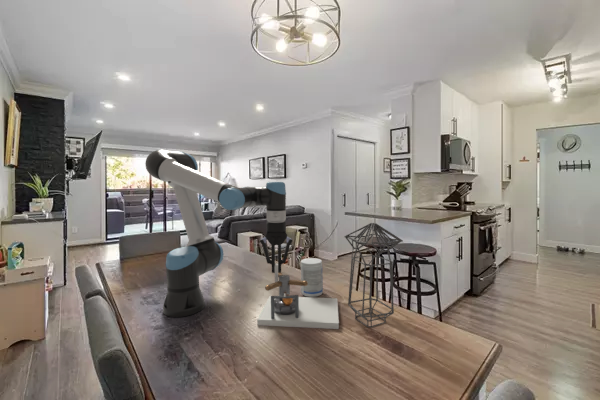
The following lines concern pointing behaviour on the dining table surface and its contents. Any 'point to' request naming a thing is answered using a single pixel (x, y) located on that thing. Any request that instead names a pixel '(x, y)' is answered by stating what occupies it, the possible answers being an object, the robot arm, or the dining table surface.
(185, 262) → the robot arm
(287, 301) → the capstan
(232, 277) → the dining table surface
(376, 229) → the geometric lantern
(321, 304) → the white base plate
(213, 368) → the dining table surface
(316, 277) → the supplement tub
